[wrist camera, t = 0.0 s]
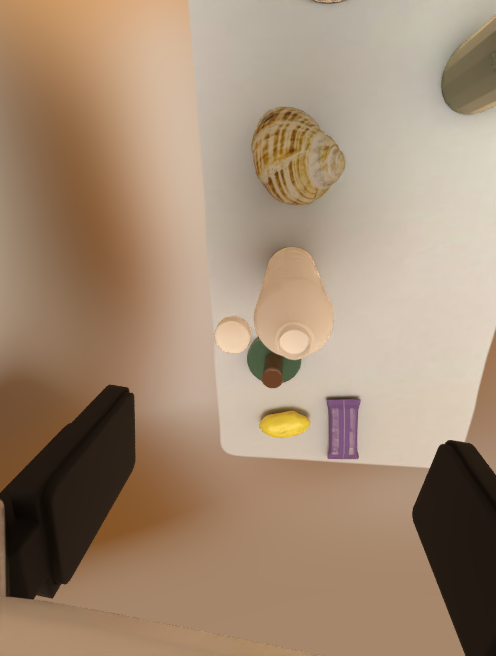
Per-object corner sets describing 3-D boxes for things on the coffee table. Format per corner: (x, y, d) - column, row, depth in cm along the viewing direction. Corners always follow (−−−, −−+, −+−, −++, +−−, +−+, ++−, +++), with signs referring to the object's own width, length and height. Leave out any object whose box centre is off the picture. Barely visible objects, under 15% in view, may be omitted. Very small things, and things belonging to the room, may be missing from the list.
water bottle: (319, 249, 44) (353, 306, 21) (310, 296, 46) (333, 394, 23) (253, 241, 44) (216, 289, 21) (249, 288, 47) (211, 376, 24)
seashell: (247, 102, 38) (288, 76, 29) (318, 123, 42) (372, 106, 33) (235, 195, 41) (268, 197, 33) (301, 208, 45) (347, 212, 37)
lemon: (258, 407, 54) (256, 422, 50) (308, 405, 53) (310, 421, 49) (261, 428, 55) (259, 444, 52) (310, 427, 54) (311, 443, 50)
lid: (238, 345, 50) (232, 365, 44) (286, 324, 48) (286, 342, 42) (262, 386, 52) (259, 412, 46) (309, 368, 50) (312, 392, 44)
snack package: (326, 454, 56) (357, 454, 55) (328, 463, 54) (359, 463, 53) (326, 396, 52) (359, 395, 51) (327, 403, 50) (361, 402, 49)
